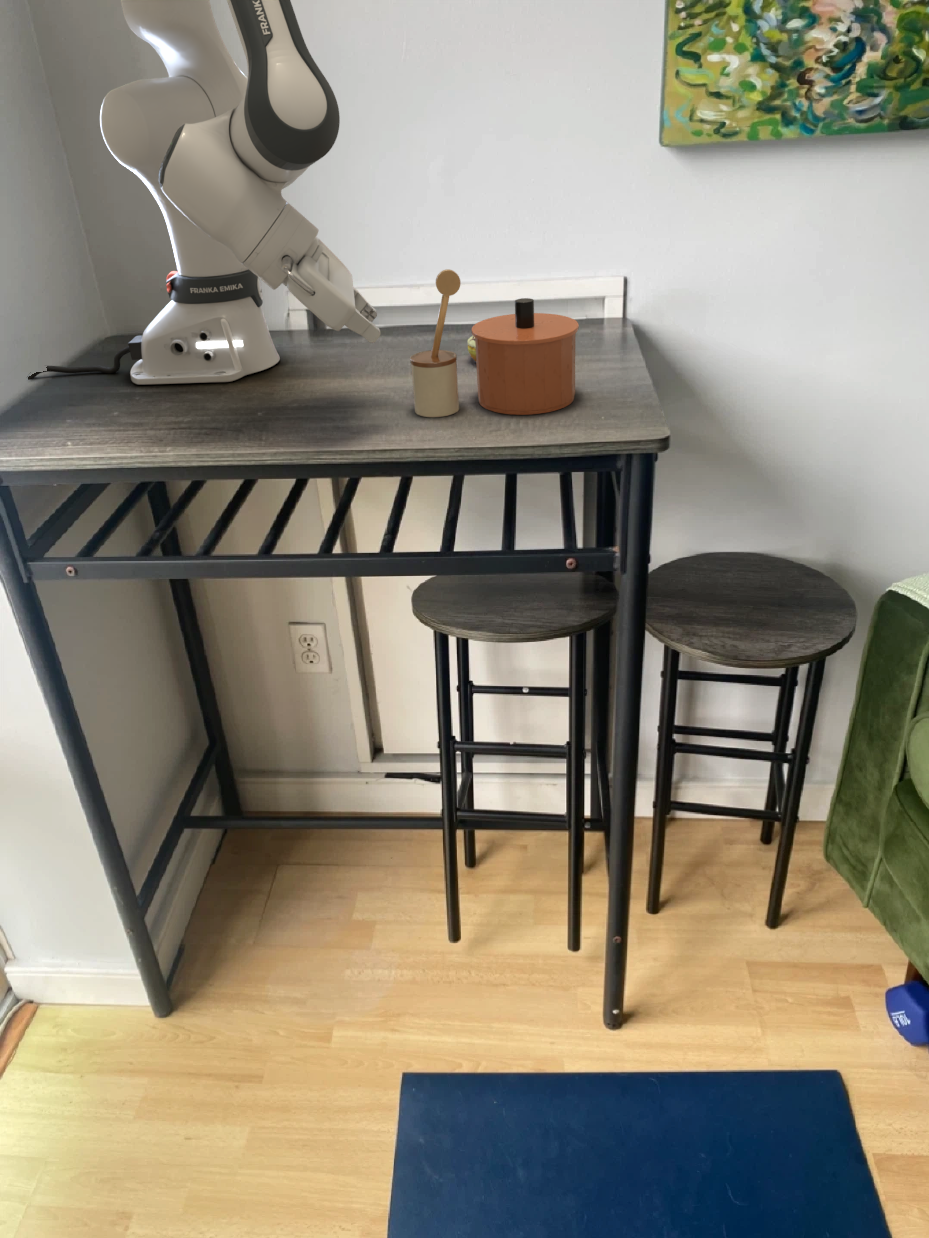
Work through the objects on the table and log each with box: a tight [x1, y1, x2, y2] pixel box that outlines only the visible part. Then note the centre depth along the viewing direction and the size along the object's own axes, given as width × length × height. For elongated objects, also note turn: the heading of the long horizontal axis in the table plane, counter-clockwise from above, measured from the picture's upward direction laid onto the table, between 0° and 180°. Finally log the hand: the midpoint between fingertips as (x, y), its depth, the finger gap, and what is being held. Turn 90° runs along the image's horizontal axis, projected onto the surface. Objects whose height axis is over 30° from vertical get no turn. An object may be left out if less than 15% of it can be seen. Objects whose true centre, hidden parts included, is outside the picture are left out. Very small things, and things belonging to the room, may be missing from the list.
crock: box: [409, 268, 462, 418], centre depth 119 cm, size 7×6×17 cm
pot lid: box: [471, 297, 579, 345], centre depth 119 cm, size 14×14×4 cm
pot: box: [475, 332, 577, 416], centre depth 122 cm, size 13×13×9 cm
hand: (375, 327), depth 117 cm, fingers open, 8 cm apart
